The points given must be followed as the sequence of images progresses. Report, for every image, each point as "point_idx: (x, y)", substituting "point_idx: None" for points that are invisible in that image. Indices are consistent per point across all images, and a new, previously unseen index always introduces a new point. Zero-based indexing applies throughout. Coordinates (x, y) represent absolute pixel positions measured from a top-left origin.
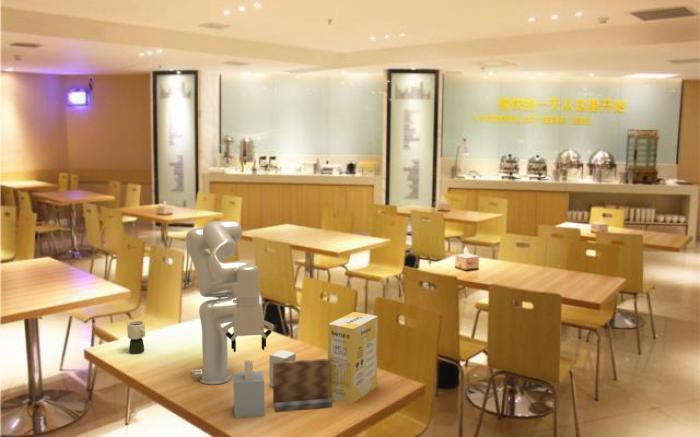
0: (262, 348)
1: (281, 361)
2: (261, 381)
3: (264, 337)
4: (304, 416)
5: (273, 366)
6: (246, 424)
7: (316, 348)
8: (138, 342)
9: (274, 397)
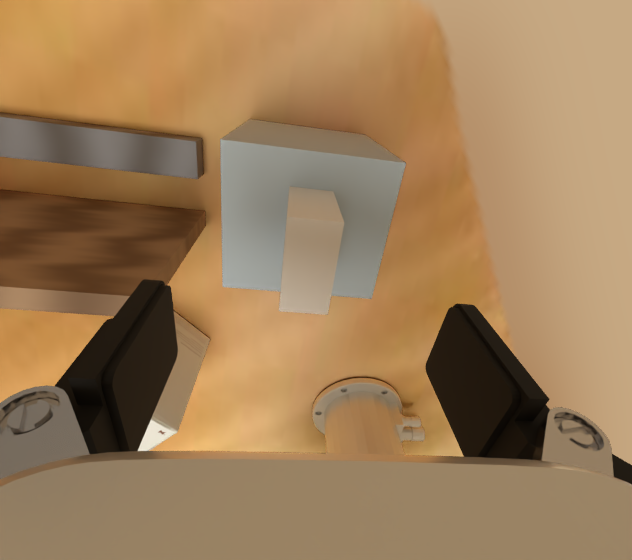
0: (161, 291)
1: None
2: (239, 141)
3: (53, 412)
4: (70, 46)
5: None
6: (335, 51)
7: None
8: None
9: (195, 219)
